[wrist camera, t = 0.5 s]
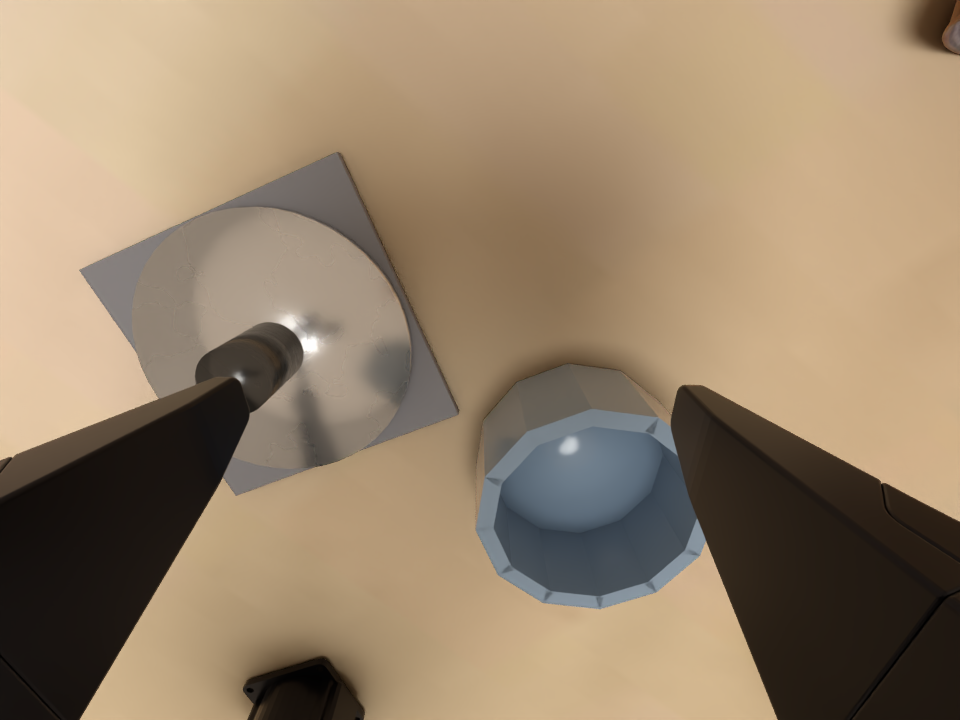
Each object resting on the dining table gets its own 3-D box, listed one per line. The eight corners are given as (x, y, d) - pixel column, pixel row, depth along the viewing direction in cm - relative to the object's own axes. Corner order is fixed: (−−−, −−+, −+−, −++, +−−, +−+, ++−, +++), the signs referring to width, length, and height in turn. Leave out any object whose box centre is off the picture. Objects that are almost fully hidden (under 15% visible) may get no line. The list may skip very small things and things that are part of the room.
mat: (240, 490, 27) (236, 495, 26) (87, 268, 22) (79, 270, 22) (458, 410, 25) (458, 414, 25) (339, 153, 21) (336, 151, 20)
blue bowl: (517, 551, 28) (525, 631, 23) (449, 406, 25) (441, 461, 20) (686, 497, 27) (736, 568, 22) (639, 336, 24) (684, 376, 18)
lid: (237, 491, 26) (187, 552, 22) (85, 272, 22) (-16, 292, 17) (453, 412, 25) (447, 461, 20) (334, 158, 20) (294, 147, 16)
